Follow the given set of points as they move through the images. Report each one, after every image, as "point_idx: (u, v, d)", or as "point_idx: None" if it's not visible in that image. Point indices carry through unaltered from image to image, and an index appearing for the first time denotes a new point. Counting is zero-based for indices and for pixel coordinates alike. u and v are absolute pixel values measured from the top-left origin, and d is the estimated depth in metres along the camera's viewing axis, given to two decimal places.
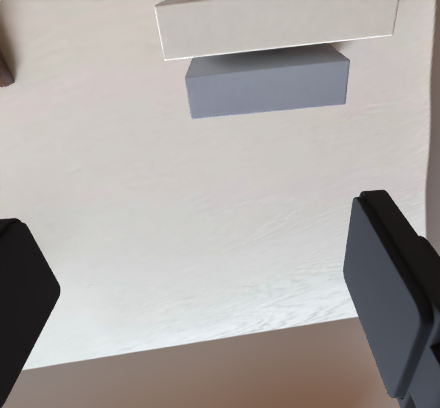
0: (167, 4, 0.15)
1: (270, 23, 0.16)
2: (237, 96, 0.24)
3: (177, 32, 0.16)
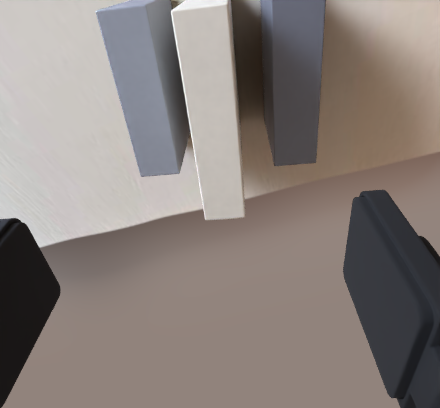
0: (228, 20, 0.14)
1: (211, 127, 0.17)
2: (132, 71, 0.21)
3: (201, 30, 0.14)
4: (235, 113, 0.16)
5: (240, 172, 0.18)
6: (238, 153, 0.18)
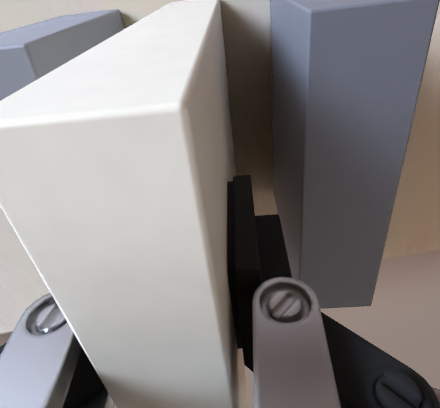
0: (192, 160, 0.04)
1: (163, 389, 0.06)
2: None
3: (91, 191, 0.04)
4: (225, 368, 0.06)
5: None
6: None
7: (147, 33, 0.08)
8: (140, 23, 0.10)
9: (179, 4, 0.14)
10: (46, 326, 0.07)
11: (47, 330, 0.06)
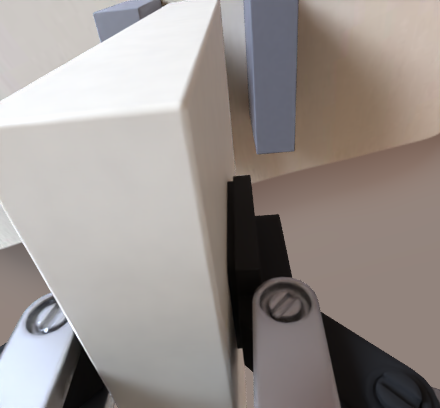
0: (192, 159, 0.04)
1: (163, 388, 0.06)
2: None
3: (91, 190, 0.04)
4: (225, 367, 0.06)
5: None
6: None
7: (147, 33, 0.08)
8: (140, 23, 0.10)
9: (179, 4, 0.14)
10: (46, 326, 0.07)
11: (47, 330, 0.06)
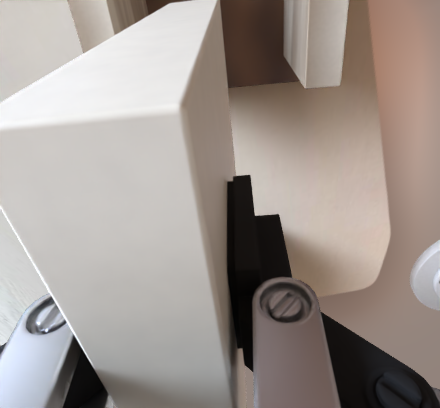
0: (192, 162, 0.04)
1: (163, 391, 0.06)
2: None
3: (92, 192, 0.04)
4: (225, 369, 0.06)
5: None
6: None
7: (147, 34, 0.08)
8: (140, 24, 0.10)
9: (179, 4, 0.14)
10: (46, 326, 0.07)
11: (47, 330, 0.06)
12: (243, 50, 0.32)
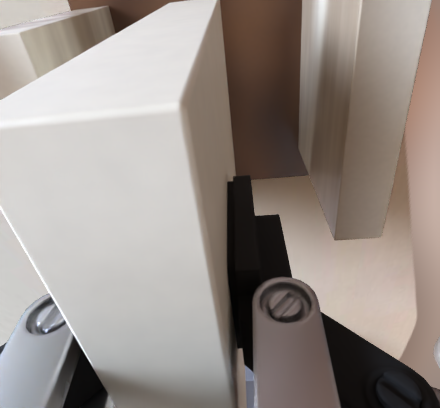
0: (192, 161, 0.04)
1: (162, 391, 0.06)
2: None
3: (91, 191, 0.04)
4: (225, 369, 0.06)
5: None
6: None
7: (147, 33, 0.08)
8: (140, 23, 0.09)
9: (179, 4, 0.14)
10: (46, 326, 0.07)
11: (47, 330, 0.06)
12: (250, 142, 0.26)
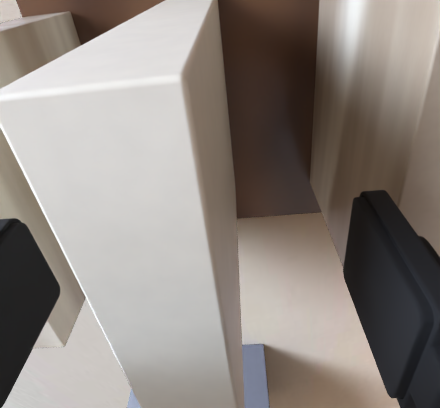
0: (192, 127, 0.04)
1: (165, 350, 0.07)
2: None
3: (103, 155, 0.04)
4: (222, 328, 0.06)
5: None
6: (231, 387, 0.08)
7: (148, 24, 0.08)
8: (141, 16, 0.10)
9: None
10: None
11: None
12: (251, 176, 0.22)
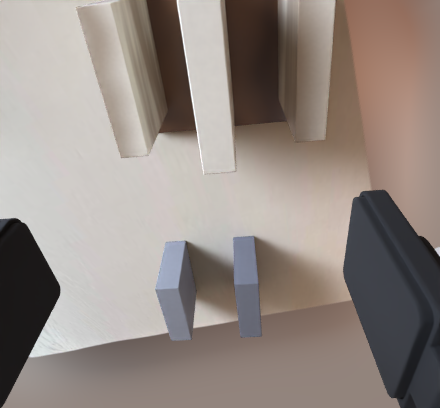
0: (220, 5, 0.18)
1: (208, 93, 0.21)
2: (170, 306, 0.44)
3: (200, 13, 0.19)
4: (227, 81, 0.21)
5: (231, 131, 0.23)
6: (230, 115, 0.22)
7: None
8: None
9: None
10: None
11: None
12: (243, 95, 0.36)
